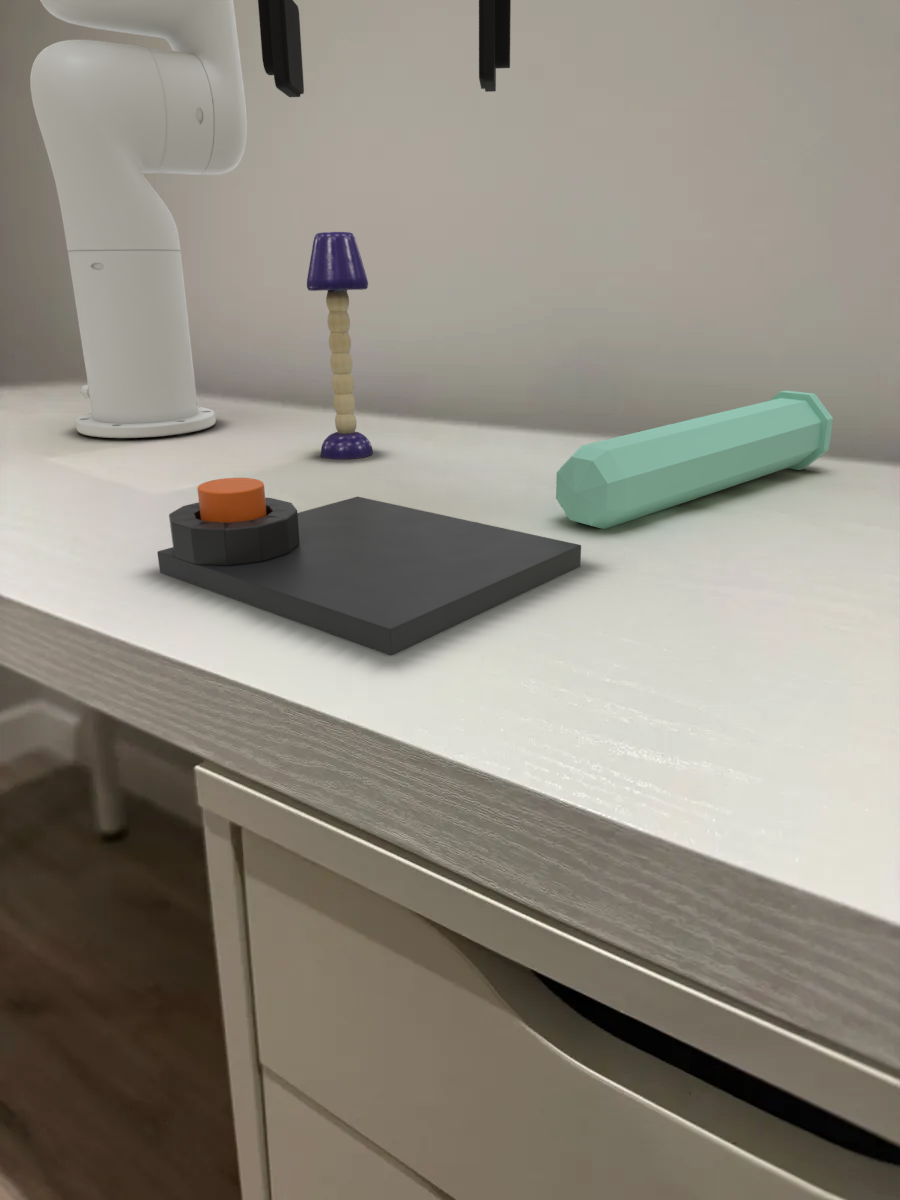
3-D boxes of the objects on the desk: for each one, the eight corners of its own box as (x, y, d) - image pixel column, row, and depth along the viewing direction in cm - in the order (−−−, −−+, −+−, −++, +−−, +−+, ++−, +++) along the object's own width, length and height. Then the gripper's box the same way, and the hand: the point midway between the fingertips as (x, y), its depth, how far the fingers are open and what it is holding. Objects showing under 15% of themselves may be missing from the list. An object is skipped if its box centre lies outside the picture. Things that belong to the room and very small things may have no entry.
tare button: (188, 520, 44) (183, 486, 43) (240, 507, 46) (237, 474, 45) (227, 531, 42) (224, 496, 41) (279, 517, 44) (277, 483, 44)
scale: (152, 571, 45) (144, 514, 43) (352, 513, 55) (349, 465, 54) (390, 657, 35) (387, 586, 34) (580, 567, 45) (583, 510, 44)
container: (600, 428, 47) (823, 378, 63) (525, 454, 52) (750, 402, 67) (628, 534, 48) (843, 458, 63) (552, 551, 52) (769, 477, 68)
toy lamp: (305, 454, 72) (290, 232, 66) (349, 446, 75) (338, 233, 69) (344, 462, 69) (332, 230, 63) (387, 453, 72) (380, 231, 66)
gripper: (577, -337, 39) (564, 98, 45) (199, -313, 41) (236, 107, 47) (590, -469, 32) (573, 67, 38) (132, -434, 34) (185, 79, 40)
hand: (388, 89), depth 42 cm, fingers open, 9 cm apart
